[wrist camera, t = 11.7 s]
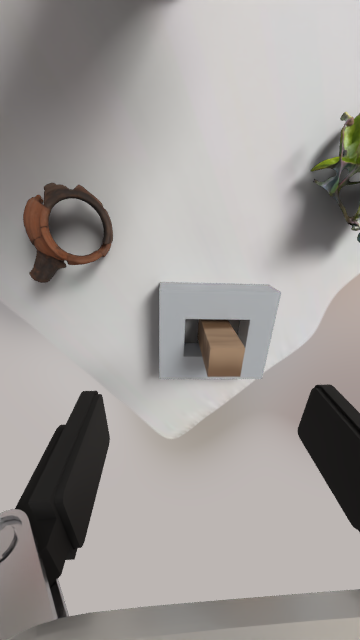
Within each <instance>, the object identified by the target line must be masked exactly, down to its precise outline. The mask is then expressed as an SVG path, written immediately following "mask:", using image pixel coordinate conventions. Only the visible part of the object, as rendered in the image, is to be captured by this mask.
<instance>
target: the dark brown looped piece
mask: <svg viewBox="0 0 360 640" xmlns="http://www.w3.org/2000/svg"><path fill="white" fill-rule="evenodd" d="M44 190H45V192H44V205H43V204H41V203H42V202H43V200H42V199H41V196H40V195H37V196H36V197H32V198H31V199H29V200H28V202H27V204H26V206H25V209H24V214H23V220H24V226H25V228H26V232H27V235H28V237H29V239H30V241H31V243H32V244H33V245H34V246H35V247H36V249H37V256H36V260H35V263H34V268H33V269H32V270H31V272H30V273H29V274H30V276H31V277H32V279H34V280H35V281H38V282H41V283H46V282H48V281H50V279H51V278H52V277H53V276H54V274H55V273H56V272H57V271H58V270H59V269H60V268H65V267H66V264H65V263H64V260H66V261H67V262H68V264H69V265H79V264H87V263H90V262H94V261H96V260H98V259H99V258H101V257H104V256H105V255H106V254H107V253H108V251H109V249H110V247H111V243H112V241H113V230H112V224H111V220H110V217H109V215H108V213H107V211H106V210H105V209H104V208H103V205H102V203H101V202H100V201H99V200H98V199H97V198H96V197H95V196H93V195H92V194H91V193H90V192H88V191H87V190H86V189H85V188H84V187H82V186H80V185H78V186H76V187H75V188H74V189H73V190H71V189H70V190H69V189H68V188H67V187H66V186H63V185H56V184H55V183H50V184H47V185H45V186H44ZM68 198H76V199H80V200H82V201H85V202H86V203H88V204H89V205H91V206H92V207H93V208H94V209H95V210H96V211H97V213H98V214H99V216H100V218H101V220H102V223H103V227H104V237H103V244H102V246H101V247H100V249H99V250H98V251H95V252H93V253H91V254H89V255H85V256H77V255H72V254H70V253H67V252H65V251H64V250H62V249H61V248H60V247H59V246H58V245H57V244H56V243H55V241H54V240H53V238H52V236H51V234H50V231H49V223H48V221H49V215H50V212H51V209H52V208H53V207H54V205H55V204H56V203H58V202H59V201H61V200H64V199H68Z"/></svg>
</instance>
